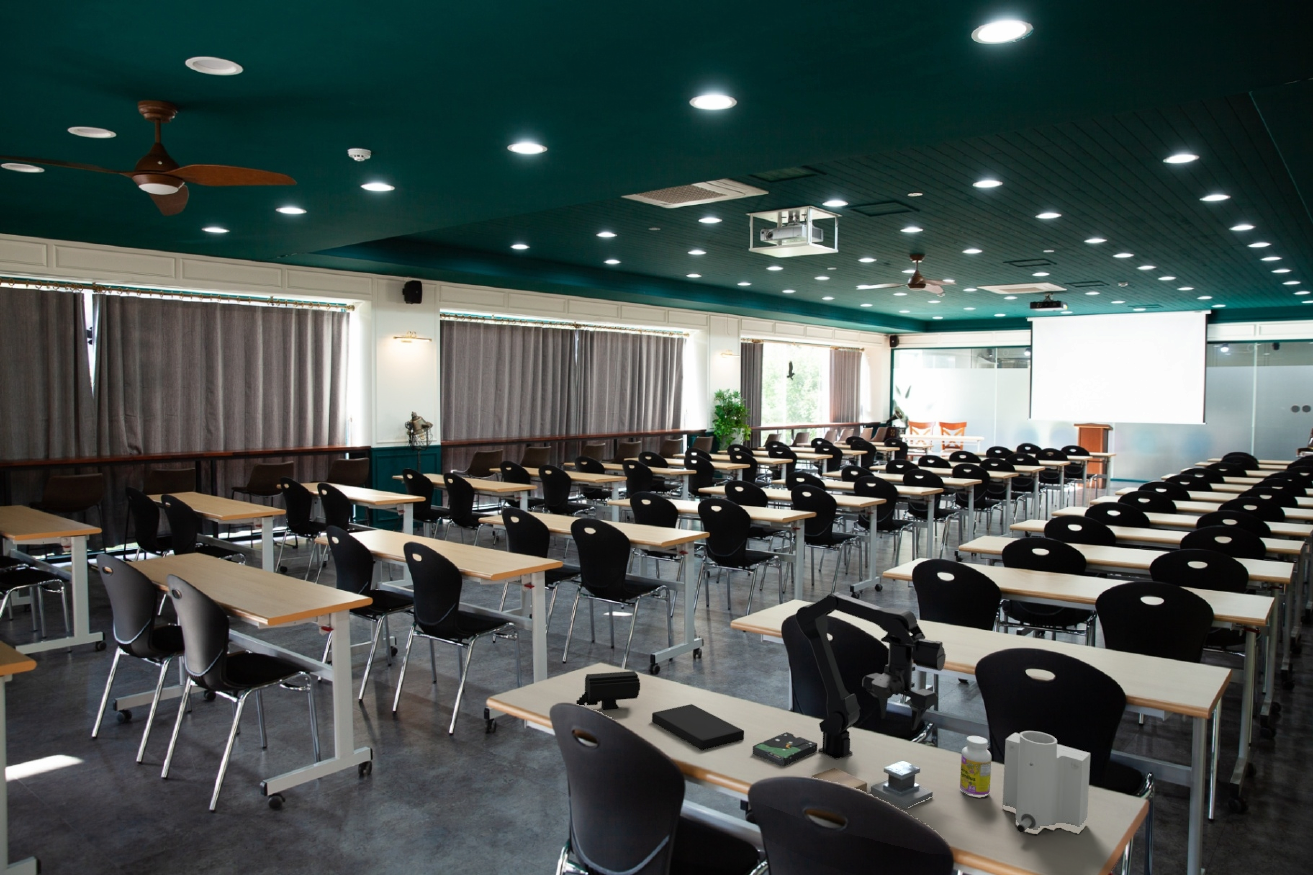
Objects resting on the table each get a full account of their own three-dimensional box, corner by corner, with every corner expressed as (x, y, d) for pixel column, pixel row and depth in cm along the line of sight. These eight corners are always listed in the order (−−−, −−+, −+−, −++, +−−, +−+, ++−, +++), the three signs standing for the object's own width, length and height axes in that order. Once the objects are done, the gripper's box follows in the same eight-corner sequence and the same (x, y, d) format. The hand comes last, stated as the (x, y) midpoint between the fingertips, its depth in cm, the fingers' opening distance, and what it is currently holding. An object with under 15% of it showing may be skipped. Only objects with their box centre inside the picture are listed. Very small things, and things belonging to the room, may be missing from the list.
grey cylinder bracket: (1087, 825, 187) (1091, 735, 187) (1060, 857, 173) (1065, 760, 173) (1011, 800, 198) (1015, 716, 197) (981, 828, 184) (985, 738, 183)
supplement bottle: (953, 788, 204) (956, 735, 203) (975, 785, 206) (978, 732, 205) (973, 801, 197) (975, 746, 197) (995, 797, 200) (998, 743, 199)
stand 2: (870, 792, 200) (870, 786, 200) (896, 782, 206) (896, 776, 206) (906, 809, 192) (906, 803, 192) (932, 798, 198) (932, 791, 198)
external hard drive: (702, 752, 221) (702, 740, 221) (651, 723, 240) (652, 712, 240) (743, 741, 230) (744, 730, 229) (691, 714, 248) (692, 703, 248)
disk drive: (785, 741, 231) (751, 756, 220) (786, 731, 231) (752, 745, 220) (817, 753, 223) (784, 769, 213) (818, 743, 223) (784, 757, 213)
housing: (901, 781, 203) (902, 760, 203) (919, 789, 199) (920, 768, 199) (882, 788, 199) (883, 767, 199) (900, 797, 195) (901, 775, 195)
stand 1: (811, 783, 204) (812, 775, 204) (834, 775, 209) (834, 767, 209) (844, 799, 196) (844, 791, 196) (866, 791, 201) (867, 782, 201)
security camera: (574, 706, 250) (575, 673, 250) (634, 702, 256) (635, 669, 255) (579, 715, 244) (579, 680, 243) (640, 710, 249) (641, 676, 249)
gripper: (849, 657, 214) (847, 718, 214) (912, 677, 199) (909, 743, 199) (877, 650, 220) (875, 710, 221) (940, 669, 206) (937, 733, 206)
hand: (897, 724), depth 212 cm, fingers open, 9 cm apart
